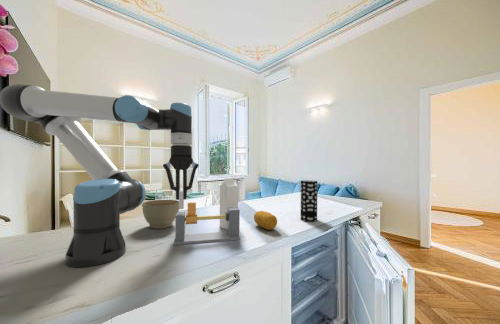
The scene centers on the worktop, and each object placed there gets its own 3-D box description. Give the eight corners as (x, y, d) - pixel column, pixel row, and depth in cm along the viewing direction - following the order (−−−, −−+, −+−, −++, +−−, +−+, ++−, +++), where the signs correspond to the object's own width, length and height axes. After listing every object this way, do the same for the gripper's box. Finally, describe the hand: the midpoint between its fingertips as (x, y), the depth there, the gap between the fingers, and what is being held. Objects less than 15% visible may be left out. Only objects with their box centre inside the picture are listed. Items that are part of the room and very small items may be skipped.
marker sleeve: (185, 224, 78) (186, 203, 78) (186, 221, 81) (186, 202, 82) (197, 223, 79) (197, 203, 79) (197, 221, 82) (197, 201, 82)
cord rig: (173, 244, 75) (173, 213, 75) (175, 237, 83) (176, 209, 83) (240, 239, 81) (240, 210, 81) (236, 232, 88) (236, 206, 89)
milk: (237, 227, 97) (238, 178, 97) (227, 229, 92) (227, 179, 93) (229, 224, 101) (230, 177, 101) (219, 226, 97) (219, 178, 97)
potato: (264, 222, 104) (264, 208, 104) (281, 231, 91) (281, 215, 91) (251, 224, 101) (251, 209, 101) (266, 233, 88) (266, 216, 88)
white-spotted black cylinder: (306, 216, 115) (306, 180, 116) (320, 220, 109) (320, 181, 109) (297, 219, 110) (297, 180, 110) (310, 223, 104) (311, 182, 104)
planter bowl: (171, 231, 89) (172, 206, 89) (134, 231, 90) (134, 205, 90) (184, 221, 105) (184, 199, 105) (152, 220, 106) (152, 199, 106)
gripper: (161, 144, 74) (161, 211, 74) (199, 144, 77) (199, 209, 77) (164, 145, 82) (164, 207, 82) (199, 146, 85) (199, 205, 85)
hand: (181, 208), depth 79 cm, fingers closed
